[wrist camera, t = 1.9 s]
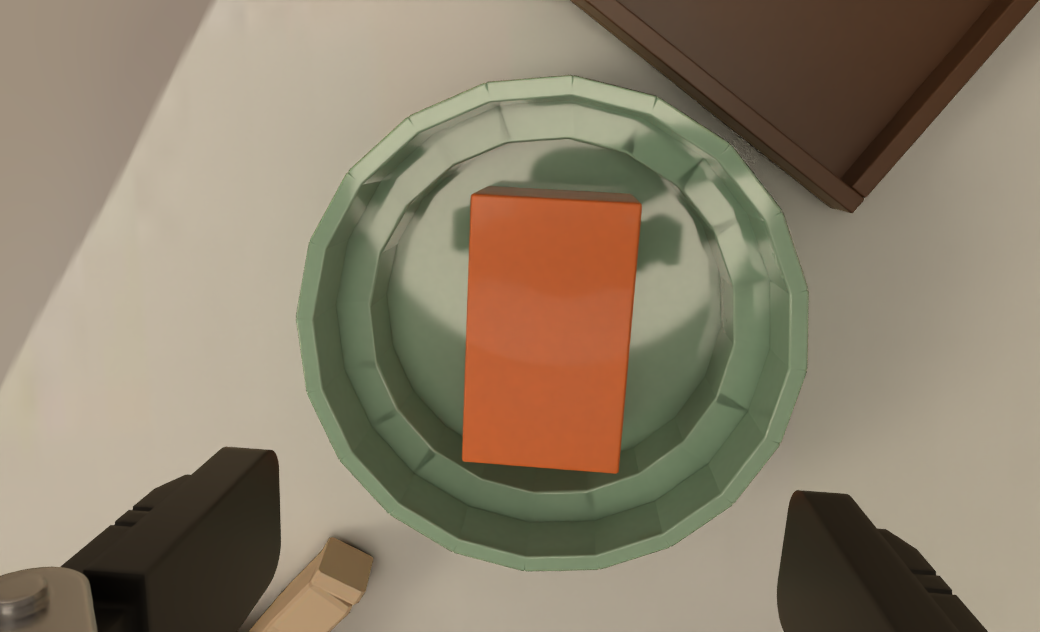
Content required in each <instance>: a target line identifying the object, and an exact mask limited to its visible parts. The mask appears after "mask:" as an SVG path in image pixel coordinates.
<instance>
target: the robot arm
mask: <svg viewBox="0 0 1040 632" xmlns="http://www.w3.org/2000/svg"><path fill="white" fill-rule="evenodd" d="M280 547H281V529H280V491H279V464H278V459H277V456H276V453H275V452H274V451H273V450H263V449H250V448H236V447H223V448H222V449H220V450H219V451H218V452H217V453H216V454H215V455H214V456H212V457H211V458H210V459H209V460H208V461H207V462H206V463H204V464H203V465H202V466H201V467H200V468H199V469H198V470H196V471H195V472H194V473H193V474H192V475H184V476H182V477H180V478H177V479H175V480H173V481H171V482H168V483H166V484H164V485H162V486H160V487H157V488H155V489H154V490H153V491H151V492H150V493H149V494H148V495H146V496H145V497H144V498H143V499H142V500H140V501H139V502H138V503H137V504H136V505H134V506H133V510H128V511H127V512H126V513H125V514H124V515H122V516H121V517H120V518H119V519H118V520H116V521H115V525H110V526H109V527H108V528H107V529H105V530H104V531H103V532H102V533H101V534H99V535H98V536H97V537H96V538H95V539H93V540H92V541H91V542H90V543H89V544H87V545H86V546H85V547H84V548H83V549H81V550H80V551H79V552H78V553H76V554H75V555H74V556H73V557H72V558H70V559H69V560H68V561H67V562H66V563H64V564H63V565H62V566H61V567H40V568H31V569H26V570H20V571H16V572H12V573H8V574H5V575H2V576H0V632H237V631H238V630H239V628H240V627H241V625H242V624H243V622H244V621H245V619H246V618H247V616H248V615H249V613H250V612H251V611H252V609H253V608H254V606H255V605H256V603H257V602H258V600H259V599H260V597H261V596H262V594H263V593H264V592H265V590H266V589H267V587H268V586H269V584H270V582H271V581H272V579H273V577H274V574H275V571H276V568H277V565H278V560H279V555H280ZM777 605H778V613H779V618H780V622H781V626H782V628H783V631H784V632H988V631H987V630H986V629H985V628H984V627H983V626H982V624H981V623H980V622H979V621H978V620H977V619H976V617H975V616H974V615H973V614H972V613H971V612H970V610H969V609H968V608H967V607H966V606H965V605H964V604H963V602H962V601H961V600H960V599H959V598H958V597H957V595H952V590H951V588H950V587H949V586H948V585H947V584H946V583H945V582H944V580H943V579H942V578H941V577H940V576H936V571H935V570H934V569H933V568H932V566H931V565H930V564H929V563H928V562H927V561H926V559H925V558H924V557H923V556H922V555H921V554H920V553H919V551H918V550H917V549H915V548H914V547H912V546H911V545H909V544H908V543H906V542H905V541H903V540H902V539H900V538H899V537H897V536H895V535H894V534H892V533H891V532H889V531H888V530H886V529H877V528H876V527H875V526H874V525H873V523H872V522H871V521H870V520H869V518H868V517H867V516H866V515H865V513H864V512H863V511H862V510H861V508H860V507H859V506H858V505H857V503H856V502H855V501H854V500H853V498H852V497H851V496H850V495H848V494H840V493H827V492H814V491H800V490H797V491H795V492H794V493H793V495H792V497H791V499H790V503H789V508H788V515H787V521H786V528H785V535H784V542H783V549H782V556H781V562H780V569H779V576H778V584H777Z"/></svg>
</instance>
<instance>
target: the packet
mask: <svg viewBox="0 0 1040 632" xmlns="http://www.w3.org/2000/svg"><path fill="white" fill-rule="evenodd" d="M641 213H642V204H641V203H640V202H639V201H638V200H637V199H636V198H635V197H634V196H633V195H632V194H626V193H608V192H590V191H572V190H554V189H535V188H517V187H499V186H488V187H486V188H484V189H481V190H479V191H477V192H475V193H473V194H472V195H471V203H470V233H469V262H468V292H467V321H466V351H465V380H464V410H463V439H462V460H463V461H464V462H474V463H487V464H499V465H512V466H525V467H537V468H550V469H563V470H575V471H588V472H601V473H613V474H617V473H618V472H619V464H620V452H621V441H622V429H623V418H624V407H625V395H626V384H627V373H628V361H629V350H630V338H631V327H632V316H633V304H634V293H635V282H636V270H637V259H638V247H639V236H640V225H641Z"/></svg>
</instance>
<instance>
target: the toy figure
mask: <svg viewBox="0 0 1040 632" xmlns="http://www.w3.org/2000/svg"><path fill="white" fill-rule="evenodd" d="M372 562H373V558H372V557H371V556H370V555H368V554H366V553H364V552H362V551H360V550H358V549H356V548H354V547H352V546H350V545H348V544H346V543H344V542H342V541H339V540H337V539H335V538H333V537H331V538H329V540H328V541H327V543H326V545H325V546H324V548H323V550H322V551H321V552H320V553H319V554H318V555H317V556H316V558H315V559H314V560H313V561H312V562H311V563H310V564H309V565H308V566H307V567H306V568H305V569H304V570H303V571H302V572H301V573H300V574H299V575H298V576H297V577H296V578H295V579H294V580H293V581H292V582H291V583H290V584H289V585H288V586H287V587H286V589H285V590H284V592H282V593H281V594H280V595H279V596H278V597H277V599H276V600H275V601H274V602H273V603H272V604H271V606H270V607H269V608H268V609H267V610H266V612H265V613H264V614H263V615H262V616H261V618H260V619H259V620H258V621H257V622H256V623H255V625H254V626H253V627H252V628H251V630H250V631H249V632H330V631H331V630H332V629H333V628H334V627H335V626H336V625H337V624H338V623H339V622H340V621H341V620H342V619H343V618H345V617H346V616H347V615H348V614H349V613H350V610H351V608H352V605H354V604H356V603H358V602H359V601H360V599H361V598H362V596H363V594H364V593H365V591H366V587H367V583H368V579H369V575H370V570H371V566H372Z"/></svg>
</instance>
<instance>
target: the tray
mask: <svg viewBox="0 0 1040 632" xmlns="http://www.w3.org/2000/svg"><path fill="white" fill-rule="evenodd" d="M570 1H572V2H573V3H574V4H575V5H577V6H578V7H579V8H580V9H582V10H583V11H584V12H585V13H587V14H588V15H589V16H590V17H592V18H593V19H594V20H596V21H597V22H598V23H599V24H601V25H602V26H603V27H604V28H606V29H607V30H608V31H609V32H611V33H612V34H613V35H614V36H616V37H617V38H618V39H619V40H621V41H622V42H623V43H624V44H626V45H627V46H628V47H629V48H631V49H632V50H633V51H634V52H636V53H637V54H638V55H639V56H641V57H642V58H643V59H644V60H646V61H647V62H648V63H649V64H651V65H652V66H653V67H654V68H656V69H657V70H658V71H660V72H661V73H662V74H663V75H665V76H666V77H667V78H668V79H670V80H671V81H672V82H673V83H675V84H676V85H677V86H678V87H680V88H681V89H682V90H683V91H685V92H686V93H687V94H688V95H690V96H691V97H692V98H693V99H695V100H696V101H697V102H698V103H700V104H701V105H702V106H703V107H705V108H706V109H707V110H708V111H710V112H711V113H712V114H713V115H715V116H716V117H717V118H718V119H720V120H721V121H722V122H723V123H725V124H726V125H727V126H729V127H730V128H731V129H732V130H734V131H735V132H736V133H737V134H739V135H740V136H741V137H742V138H744V139H745V140H746V141H747V142H749V143H750V144H751V145H752V146H754V147H755V148H756V149H757V150H759V151H760V152H761V153H762V154H764V155H765V156H766V157H767V158H769V159H770V160H771V161H772V162H774V163H775V164H776V165H777V166H779V167H780V168H781V169H782V170H784V171H785V172H786V173H787V174H789V175H790V176H791V177H793V178H794V179H795V180H796V181H798V182H799V183H800V184H801V185H803V186H804V187H805V188H806V189H808V190H809V191H810V192H811V193H813V194H814V195H815V196H816V197H818V198H819V199H820V200H821V201H823V202H824V203H825V204H826V205H828V206H829V207H830V208H833V209H837V210H841V211H845V212H849V213H853V212H854V211H855V210H856V209H857V207H858V206H859V205H860V204H861V203H862V202H863V201H864V198H865V197H867V196H868V195H869V194H870V192H871V191H872V190H873V189H874V188H875V187H876V186H877V184H878V183H879V182H880V181H881V180H882V179H883V178H884V176H885V175H886V174H887V173H888V172H889V171H890V170H891V168H892V167H893V166H894V165H895V164H896V163H897V162H898V160H899V159H900V158H901V157H902V156H903V155H904V154H905V152H906V151H907V150H908V149H909V148H910V147H911V146H912V144H913V143H914V142H915V141H916V140H917V139H918V138H919V136H920V135H921V134H922V133H923V132H924V131H925V130H926V129H927V127H928V126H929V125H930V124H931V123H932V122H933V121H934V119H935V118H936V117H937V116H938V115H939V114H940V113H941V111H942V110H943V109H944V108H945V107H946V106H947V105H948V103H949V102H950V101H951V100H952V99H953V98H954V97H955V95H956V94H957V93H958V92H959V91H960V90H961V89H962V87H963V86H964V85H965V84H966V83H967V82H968V81H969V79H970V78H971V77H972V76H973V75H974V74H975V73H976V71H977V70H978V69H979V68H980V67H981V66H982V65H983V63H984V62H985V61H986V60H987V59H988V58H989V57H990V55H991V54H992V53H993V52H994V51H995V50H996V49H997V47H998V46H999V45H1000V44H1001V43H1002V42H1003V41H1004V40H1005V38H1006V37H1007V36H1008V35H1009V34H1010V33H1011V32H1012V30H1013V29H1014V28H1015V27H1016V26H1017V25H1018V24H1019V22H1020V21H1021V20H1022V19H1023V18H1024V17H1025V16H1026V14H1027V13H1028V12H1029V11H1030V10H1031V9H1032V8H1033V6H1034V5H1035V4H1036V3H1037V2H1038V1H1039V0H570ZM863 197H864V198H863Z"/></svg>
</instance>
